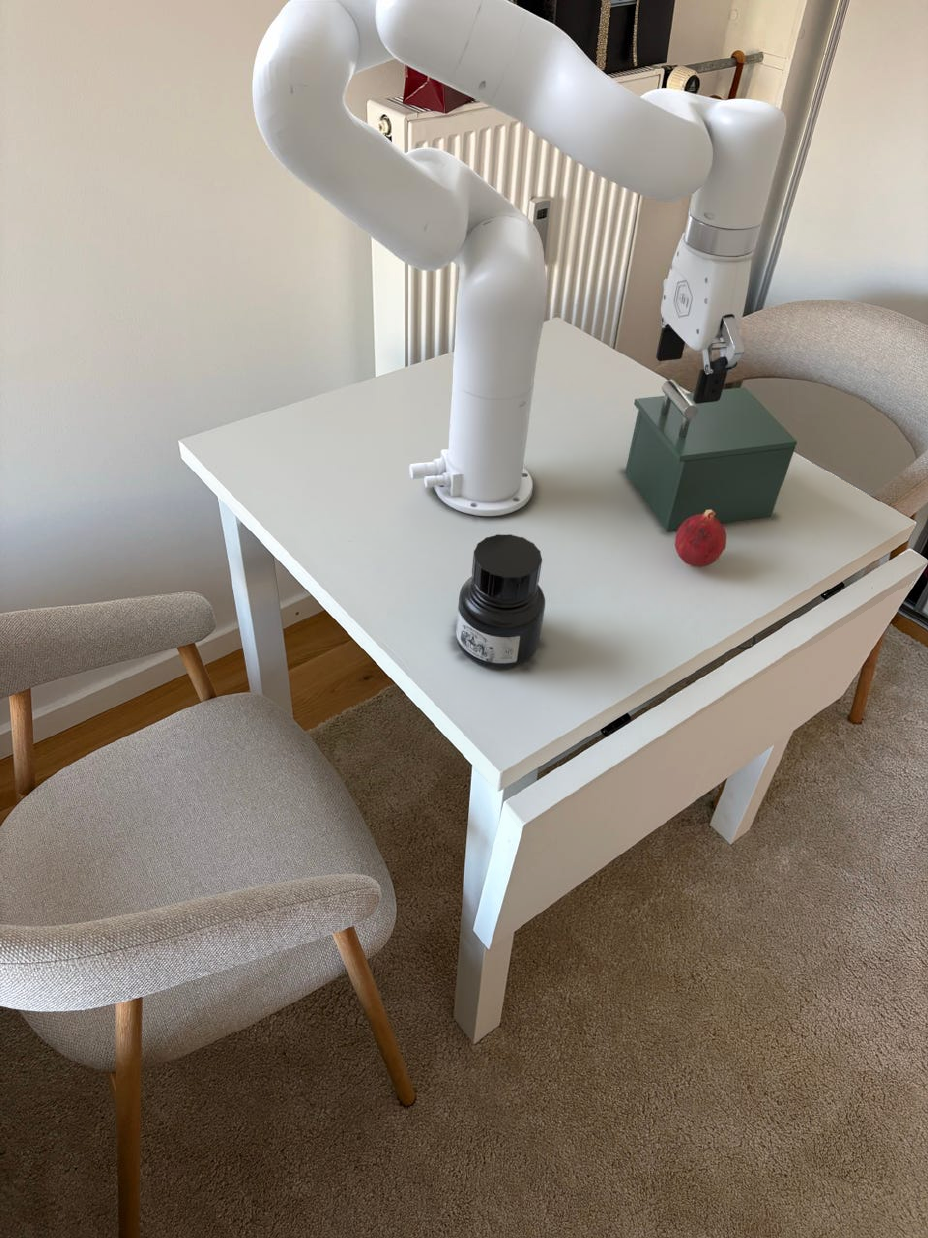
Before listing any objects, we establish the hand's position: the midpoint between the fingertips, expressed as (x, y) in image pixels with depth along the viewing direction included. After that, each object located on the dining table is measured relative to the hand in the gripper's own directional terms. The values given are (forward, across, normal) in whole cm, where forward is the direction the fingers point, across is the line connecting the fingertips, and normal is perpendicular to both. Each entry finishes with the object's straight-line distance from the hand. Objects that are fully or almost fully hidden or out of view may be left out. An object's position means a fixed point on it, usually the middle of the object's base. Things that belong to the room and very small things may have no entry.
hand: (686, 379), depth 115 cm
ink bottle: (+17, +20, -28) cm, 39 cm away
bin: (+17, 0, +6) cm, 18 cm away
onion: (+18, +13, -1) cm, 22 cm away
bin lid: (+7, 0, +5) cm, 9 cm away
